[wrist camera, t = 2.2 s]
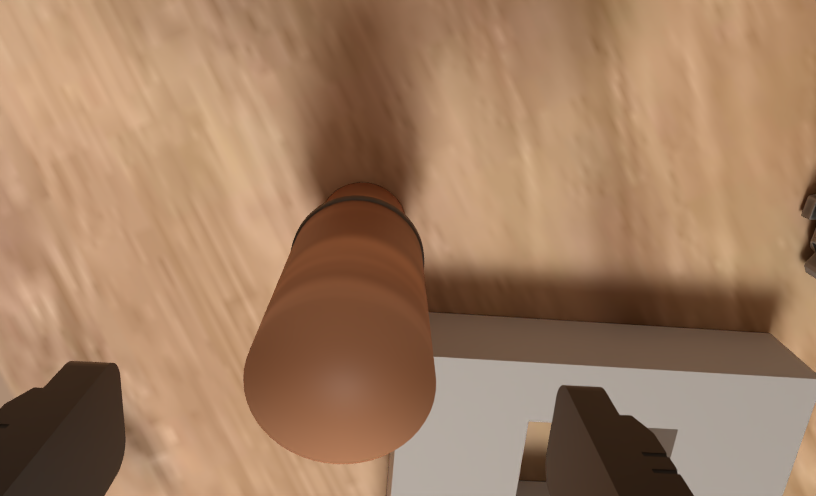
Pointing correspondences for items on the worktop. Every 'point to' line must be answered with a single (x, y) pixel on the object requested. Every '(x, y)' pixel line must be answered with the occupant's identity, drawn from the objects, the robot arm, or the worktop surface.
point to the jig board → (629, 392)
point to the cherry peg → (346, 334)
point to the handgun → (812, 211)
